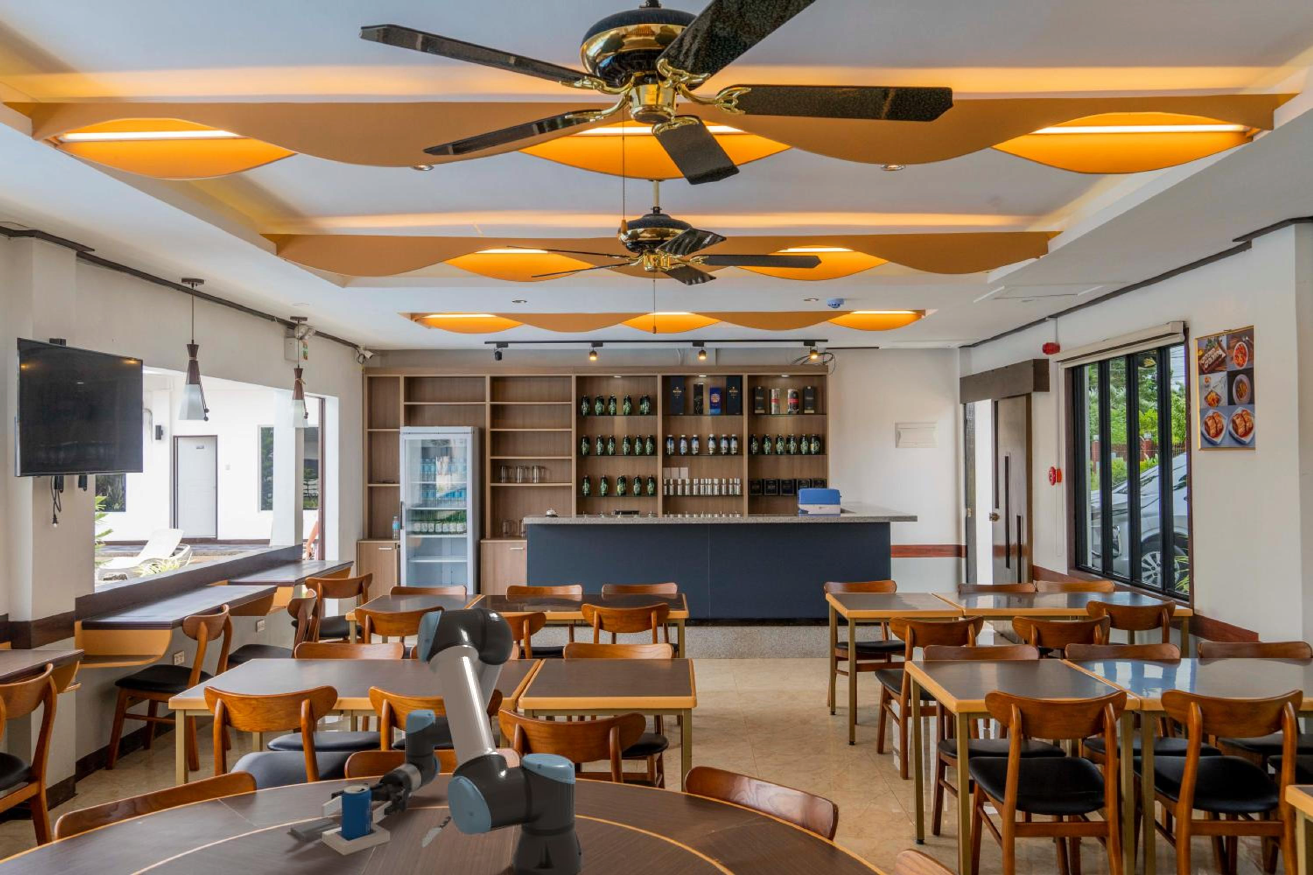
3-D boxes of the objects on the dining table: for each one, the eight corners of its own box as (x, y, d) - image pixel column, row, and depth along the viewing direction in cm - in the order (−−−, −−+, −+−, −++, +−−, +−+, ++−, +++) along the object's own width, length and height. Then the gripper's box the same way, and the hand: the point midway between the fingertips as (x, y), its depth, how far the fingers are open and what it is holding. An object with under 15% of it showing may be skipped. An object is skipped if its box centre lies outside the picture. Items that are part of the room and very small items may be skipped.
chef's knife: (409, 852, 193) (421, 852, 193) (408, 847, 193) (421, 847, 193) (441, 819, 212) (452, 819, 212) (440, 815, 212) (452, 814, 212)
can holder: (389, 840, 198) (389, 831, 199) (343, 855, 190) (343, 846, 191) (367, 827, 206) (367, 818, 206) (322, 840, 198) (322, 832, 199)
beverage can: (361, 847, 195) (362, 794, 195) (335, 845, 196) (336, 792, 197) (375, 836, 201) (376, 784, 202) (351, 834, 202) (352, 782, 203)
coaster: (343, 831, 204) (343, 826, 204) (306, 842, 198) (306, 837, 198) (327, 821, 210) (327, 816, 210) (290, 831, 204) (290, 827, 204)
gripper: (443, 803, 213) (396, 836, 192) (356, 794, 219) (301, 825, 199) (443, 772, 213) (396, 802, 193) (356, 764, 220) (302, 792, 199)
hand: (348, 814), depth 196 cm, fingers open, 13 cm apart
